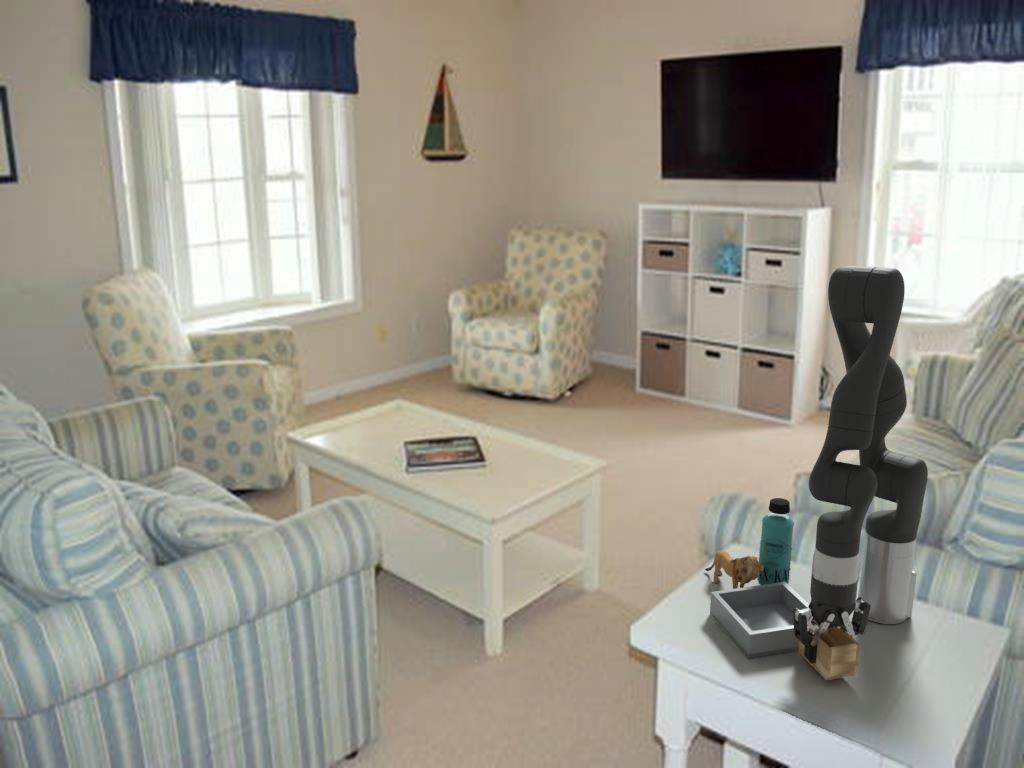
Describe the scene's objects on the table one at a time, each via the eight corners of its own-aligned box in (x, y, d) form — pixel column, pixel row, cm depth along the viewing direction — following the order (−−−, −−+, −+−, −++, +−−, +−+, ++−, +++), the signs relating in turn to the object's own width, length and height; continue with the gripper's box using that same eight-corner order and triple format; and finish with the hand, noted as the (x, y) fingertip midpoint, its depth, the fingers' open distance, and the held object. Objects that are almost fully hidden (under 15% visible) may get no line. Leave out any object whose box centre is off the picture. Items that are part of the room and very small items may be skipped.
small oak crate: (827, 646, 167) (830, 617, 165) (857, 674, 158) (860, 644, 156) (798, 651, 165) (800, 622, 163) (826, 680, 157) (829, 650, 155)
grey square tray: (783, 604, 185) (784, 581, 183) (827, 646, 170) (829, 622, 168) (709, 614, 181) (711, 592, 180) (748, 659, 166) (750, 634, 165)
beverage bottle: (754, 580, 194) (760, 493, 188) (786, 582, 193) (793, 494, 188) (758, 596, 188) (764, 506, 182) (791, 598, 187) (798, 507, 181)
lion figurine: (765, 596, 188) (768, 557, 185) (747, 604, 185) (750, 564, 182) (713, 568, 199) (715, 531, 197) (695, 575, 197) (697, 537, 194)
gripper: (859, 557, 162) (851, 640, 167) (785, 568, 158) (779, 652, 163) (885, 577, 155) (876, 663, 160) (809, 589, 151) (802, 677, 156)
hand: (827, 657), depth 161 cm, fingers closed on small oak crate, 6 cm apart
